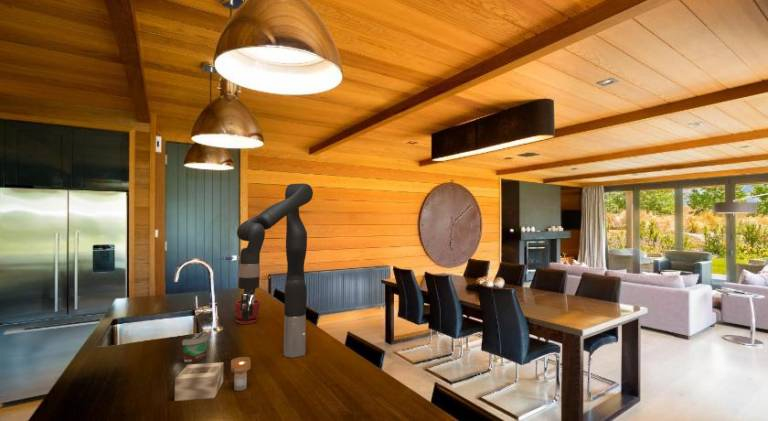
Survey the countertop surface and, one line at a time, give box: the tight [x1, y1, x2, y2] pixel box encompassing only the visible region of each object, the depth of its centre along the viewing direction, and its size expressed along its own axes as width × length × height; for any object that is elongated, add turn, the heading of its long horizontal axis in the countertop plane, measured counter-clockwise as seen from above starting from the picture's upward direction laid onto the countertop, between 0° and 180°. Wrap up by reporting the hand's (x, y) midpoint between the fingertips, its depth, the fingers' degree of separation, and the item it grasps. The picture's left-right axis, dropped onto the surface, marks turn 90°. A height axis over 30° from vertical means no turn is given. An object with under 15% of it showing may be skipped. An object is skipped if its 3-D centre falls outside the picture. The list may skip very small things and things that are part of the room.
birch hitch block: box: [174, 362, 224, 402], centre depth 124 cm, size 12×12×7 cm
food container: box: [181, 331, 210, 365], centre depth 152 cm, size 12×6×10 cm, turn 168°
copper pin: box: [230, 356, 252, 392], centre depth 126 cm, size 6×6×10 cm
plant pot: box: [234, 299, 261, 325], centre depth 208 cm, size 13×13×12 cm
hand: (247, 318), depth 137 cm, fingers open, 8 cm apart
